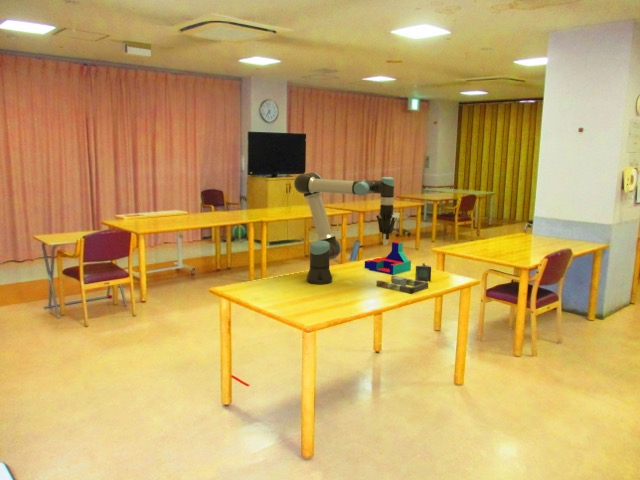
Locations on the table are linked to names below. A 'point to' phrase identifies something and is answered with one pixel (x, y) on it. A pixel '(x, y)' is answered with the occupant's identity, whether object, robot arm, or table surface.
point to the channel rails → (392, 285)
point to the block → (399, 280)
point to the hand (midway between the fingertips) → (385, 244)
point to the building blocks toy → (391, 261)
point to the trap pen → (417, 287)
